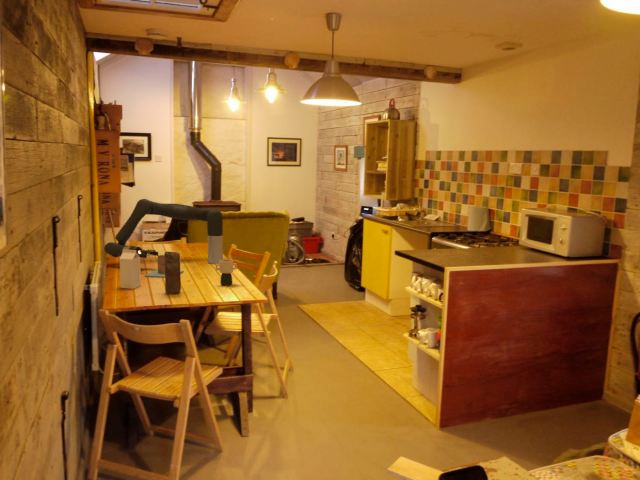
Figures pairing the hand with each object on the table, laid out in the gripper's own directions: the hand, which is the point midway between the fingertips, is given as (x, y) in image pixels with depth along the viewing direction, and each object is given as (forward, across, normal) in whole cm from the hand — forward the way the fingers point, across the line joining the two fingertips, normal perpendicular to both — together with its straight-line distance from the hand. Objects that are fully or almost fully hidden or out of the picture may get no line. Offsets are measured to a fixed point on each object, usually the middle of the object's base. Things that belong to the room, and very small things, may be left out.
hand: (152, 255), depth 305 cm
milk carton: (+18, -31, +10) cm, 37 cm away
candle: (+43, -27, +10) cm, 52 cm away
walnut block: (+10, 0, +9) cm, 13 cm away
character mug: (+54, 0, +11) cm, 55 cm away
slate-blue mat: (+10, 0, +10) cm, 14 cm away
